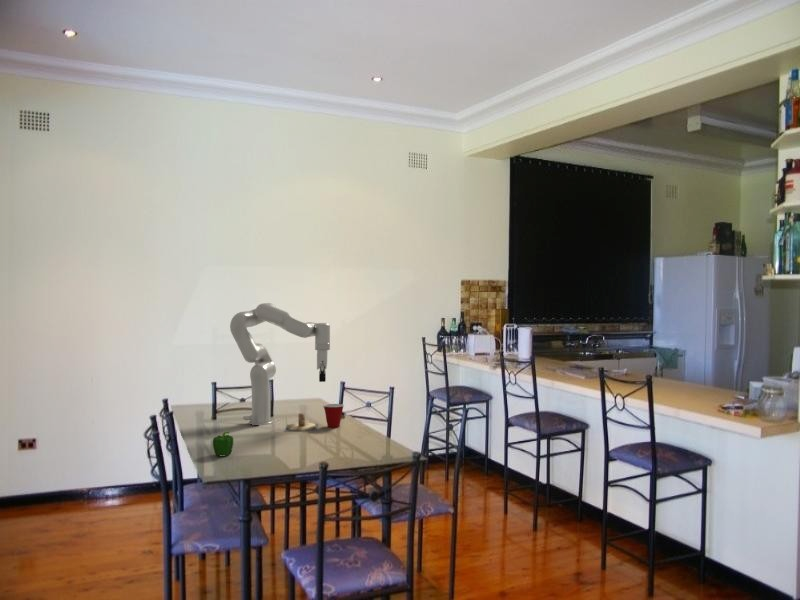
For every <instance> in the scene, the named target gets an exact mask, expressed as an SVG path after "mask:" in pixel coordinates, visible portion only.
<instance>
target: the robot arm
mask: <svg viewBox="0 0 800 600" xmlns="http://www.w3.org/2000/svg"><path fill="white" fill-rule="evenodd" d="M265 322H267V323H269V324H272V325H275V326H277V327H279V328H281V329H282V330H284V331H286V332H288V333H290V334H291V335H294V336H297V337H299V338H303V339H307V338H310V337H314V350H315V351H316V369H317V370H319V372H318V374H319V375H318V380H319V382H320V383H326V382H327V381H326V380H327V379H326V378H327V376H326V370H327V367H328V351H330V350H331V325H330V323H328V322H308V321H307V322H303V321H300V320H297V319H296V318H294V317H292V316H291V315H290V313H289V312H287V311H285V310H282V309H280V308H277V307H276V306H275V304H273V303H270V302H266V303H260V304H258V305H256V308H254V309H251V310H247V311H245V310H244V311H239V312H237V313H236V314H234V315H233V316H232V318H231V320H230V325H229V328H230V333H231V335H232V337H233V339H234V341H235V342H236V344H237V347H238V349H239V351H240V353H241V354H242V356H243V359H244V360H245V362H247V363H248V364H252V363H254V365H253V366H252V367H251V369H250V371H249V375H250V376H249V378H250V384H251V414H249V415H243V416H242V419H243V420H245V421H248V425H250V424H252V425H251V426H254V425H259V426H264V425H270V424H273V423H274V422H275V421H274V420H273V419H271V384H270V379H271V378H273V377H275V375H276V373H277V372H276V371H277V367H276V365H275V363H274V360H273V359H272V357H271V355H270V353H269V351H268V349H267V348H266V346H264V345H263V344H261V343H256V341H255V339H254V338H253V336H252V333H250V332H249V330H248V328H250V327H254V326H258V325H260V324H263V323H265Z"/></svg>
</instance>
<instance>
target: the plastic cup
mask: <svg viewBox="0 0 800 600" xmlns="http://www.w3.org/2000/svg"><path fill="white" fill-rule="evenodd" d="M322 407H323V408H324V409H323V410H324V413H325V419H326V420H325V421H326V425H327V428H329V429H338V428H340V427H341V426H340V425H341V420H342V413H343V409H344V407H345V404H342V403H325V404H322Z"/></svg>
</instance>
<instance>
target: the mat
mask: <svg viewBox="0 0 800 600" xmlns="http://www.w3.org/2000/svg"><path fill="white" fill-rule="evenodd" d="M314 424H315V425H316V428H315V429H312V430H307V431H292V430H289V429H288V425H289V424H286V426H285V429H284V431H283V432H284V433H298V432H299V433H300V432H318V428H319V423H314Z"/></svg>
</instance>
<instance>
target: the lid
mask: <svg viewBox="0 0 800 600" xmlns="http://www.w3.org/2000/svg"><path fill="white" fill-rule="evenodd" d="M297 416H298V421H297V422H296V423H295V422H294V423H291V424H287V425H288V429H289V430H292V431H307V430H312V429H315V428H316V425H315V424H316V423H311V422H306V414H305V413H303V412H302V413H298V415H297ZM307 432H308V431H307Z"/></svg>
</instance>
